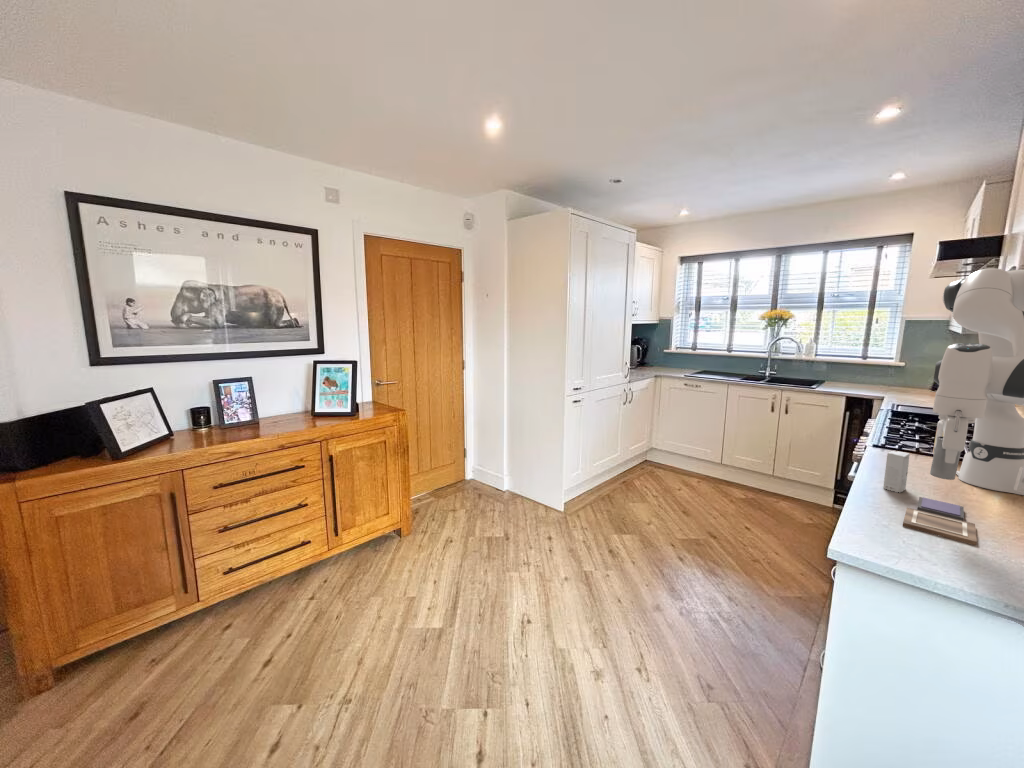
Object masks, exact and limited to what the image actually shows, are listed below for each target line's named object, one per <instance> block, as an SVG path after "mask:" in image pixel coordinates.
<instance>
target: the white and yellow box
mask: <svg viewBox="0 0 1024 768" xmlns="http://www.w3.org/2000/svg"><path fill="white" fill-rule="evenodd" d="M939 436H943V420H941V419H939V421H937V425H936V432H935V436H934V437H935V438H934V444H933V448H932V449H933V450H932V454H933V455H934V451H935V447H936V442H937V437H939Z"/></svg>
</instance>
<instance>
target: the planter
mask: <svg viewBox="0 0 1024 768" xmlns="http://www.w3.org/2000/svg"><path fill="white" fill-rule="evenodd" d="M942 441H943V436H939V437H937V442H936V447H935V451H934V454H933V457H932V461H931V467H930V473H929V474H930V475H931V476H933V477H935V478H939V479H943V480H949V481H952V480H956V472H957V471H958V468H959V467H958V466H959V461H960V457H961V453H962V451H958V453H957V456H956V460H955V463H954V464H952V463H946V462H945V455H946V449H943V448H942Z"/></svg>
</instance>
